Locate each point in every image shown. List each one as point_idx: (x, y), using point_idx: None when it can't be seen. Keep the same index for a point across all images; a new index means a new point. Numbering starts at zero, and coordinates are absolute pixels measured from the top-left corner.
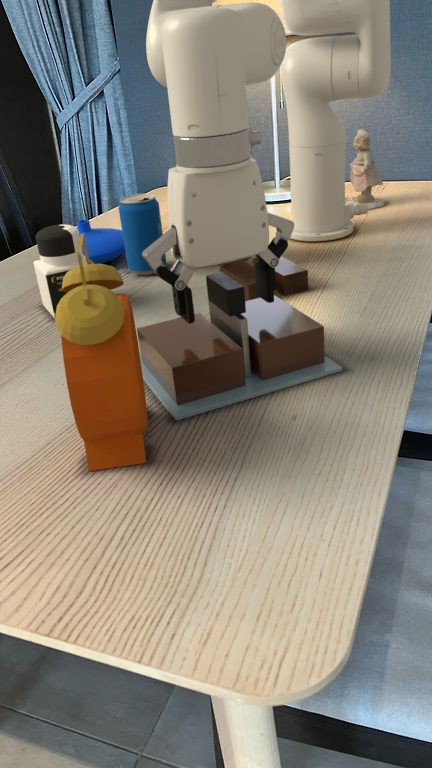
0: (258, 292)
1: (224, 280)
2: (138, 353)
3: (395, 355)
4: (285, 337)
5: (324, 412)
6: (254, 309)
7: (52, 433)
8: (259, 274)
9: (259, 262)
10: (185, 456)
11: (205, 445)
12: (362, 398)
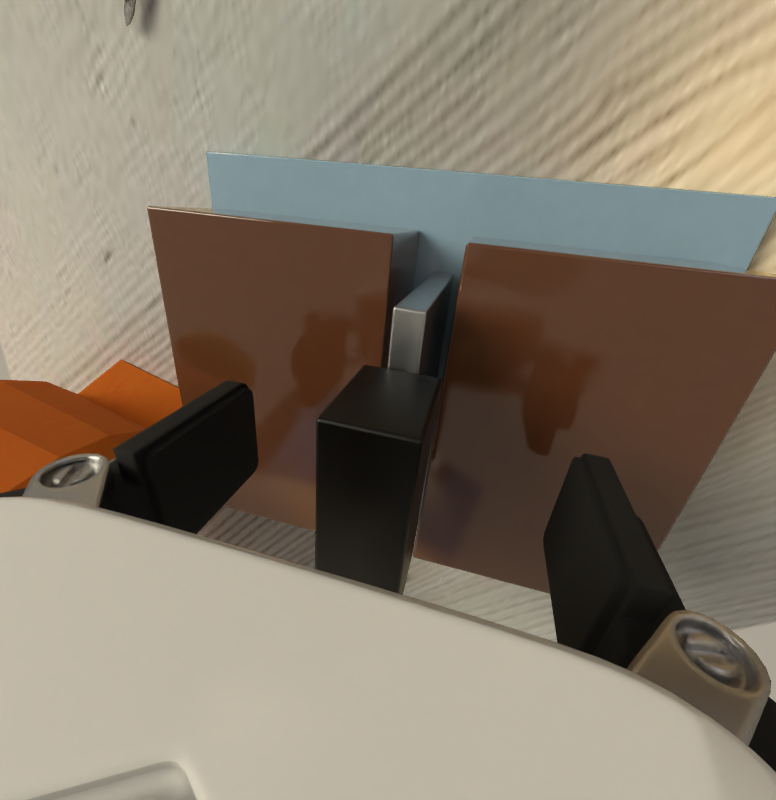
0: (570, 484)
1: (359, 548)
2: (112, 457)
3: (759, 593)
4: (489, 577)
5: (453, 601)
6: (580, 374)
7: (63, 361)
8: (582, 581)
9: (615, 644)
10: (234, 537)
11: (265, 539)
12: (535, 620)
